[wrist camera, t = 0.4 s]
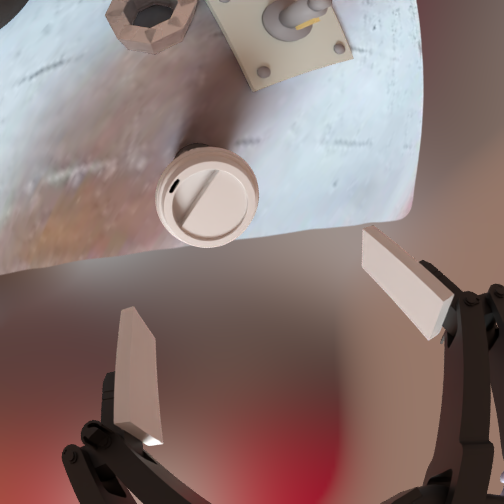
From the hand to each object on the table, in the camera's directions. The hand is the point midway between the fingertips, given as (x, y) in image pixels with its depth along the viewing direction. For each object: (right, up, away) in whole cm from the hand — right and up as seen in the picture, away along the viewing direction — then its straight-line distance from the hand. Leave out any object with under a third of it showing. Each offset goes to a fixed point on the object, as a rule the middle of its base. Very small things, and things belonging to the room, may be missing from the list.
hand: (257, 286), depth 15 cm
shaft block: (+4, +32, +13) cm, 35 cm away
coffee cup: (-8, +13, +21) cm, 26 cm away
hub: (-12, +30, +9) cm, 34 cm away
